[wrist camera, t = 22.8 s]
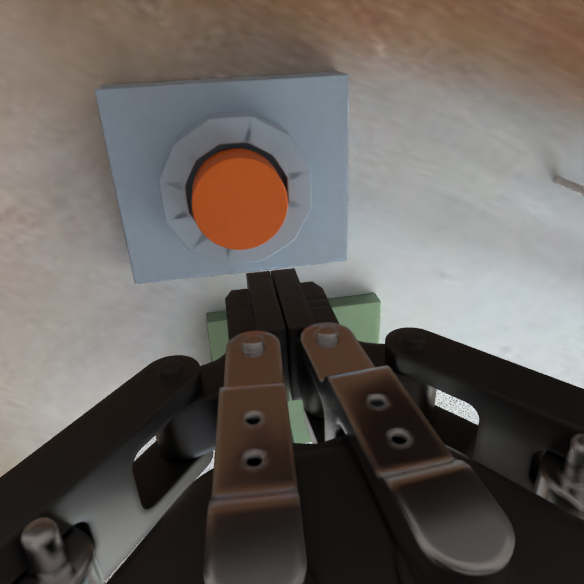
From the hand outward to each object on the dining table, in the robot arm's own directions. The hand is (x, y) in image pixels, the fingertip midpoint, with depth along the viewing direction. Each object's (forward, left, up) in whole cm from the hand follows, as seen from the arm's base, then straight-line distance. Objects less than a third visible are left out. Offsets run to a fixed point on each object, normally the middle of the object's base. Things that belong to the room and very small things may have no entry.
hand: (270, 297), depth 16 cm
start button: (0, 0, -11) cm, 11 cm away
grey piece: (0, 0, -14) cm, 14 cm away
